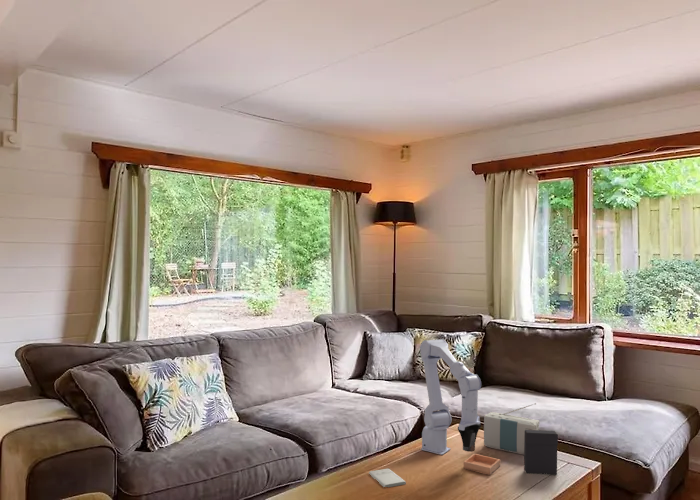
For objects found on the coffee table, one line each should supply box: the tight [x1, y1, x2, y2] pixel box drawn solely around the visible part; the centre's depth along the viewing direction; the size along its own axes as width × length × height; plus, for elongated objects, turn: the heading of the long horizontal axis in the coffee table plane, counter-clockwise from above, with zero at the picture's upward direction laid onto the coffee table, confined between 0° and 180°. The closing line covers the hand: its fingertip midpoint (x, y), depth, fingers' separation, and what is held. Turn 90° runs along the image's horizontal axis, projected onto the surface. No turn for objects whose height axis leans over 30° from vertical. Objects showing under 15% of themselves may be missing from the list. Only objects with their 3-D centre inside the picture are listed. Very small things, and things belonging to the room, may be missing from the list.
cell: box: [462, 431, 476, 453], centre depth 202 cm, size 4×4×7 cm
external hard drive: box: [368, 468, 407, 488], centre depth 192 cm, size 2×8×12 cm
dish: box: [463, 453, 501, 476], centre depth 203 cm, size 10×10×2 cm
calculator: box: [523, 429, 559, 476], centre depth 199 cm, size 11×4×15 cm, turn 84°
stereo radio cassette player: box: [483, 402, 540, 456], centre depth 221 cm, size 21×8×20 cm, turn 55°
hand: (469, 444), depth 202 cm, fingers closed on cell, 4 cm apart
